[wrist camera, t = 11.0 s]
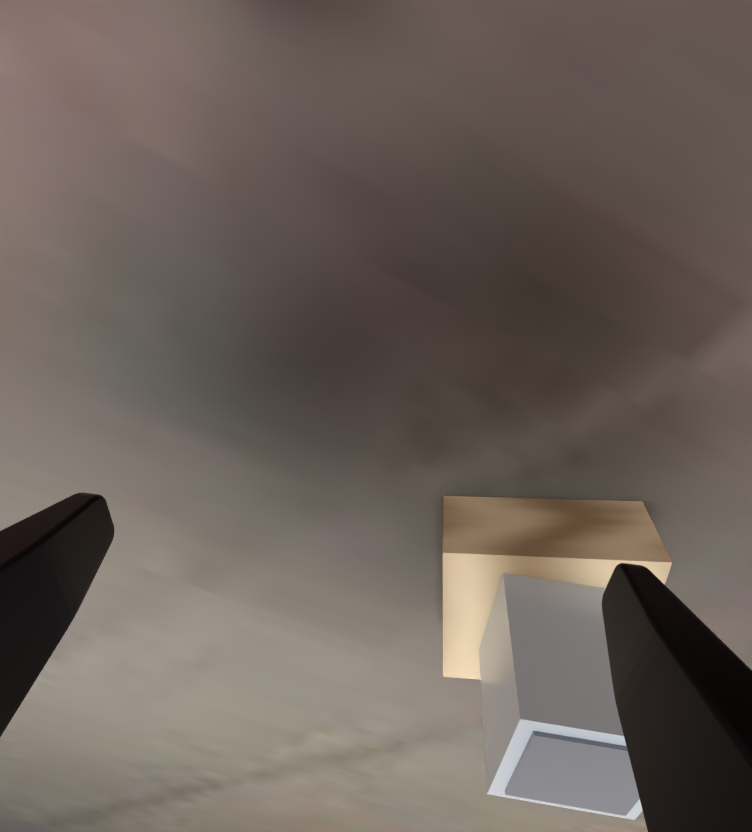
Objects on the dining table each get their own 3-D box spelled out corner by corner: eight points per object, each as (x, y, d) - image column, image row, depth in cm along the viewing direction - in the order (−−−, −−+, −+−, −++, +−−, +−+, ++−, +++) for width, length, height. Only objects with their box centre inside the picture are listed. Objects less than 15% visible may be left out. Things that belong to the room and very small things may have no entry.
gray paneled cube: (635, 592, 21) (697, 753, 16) (594, 668, 24) (635, 824, 19) (503, 572, 21) (520, 724, 16) (478, 649, 24) (487, 798, 19)
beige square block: (639, 495, 23) (672, 562, 20) (606, 620, 28) (628, 691, 24) (443, 490, 24) (442, 552, 21) (443, 610, 29) (443, 676, 26)
